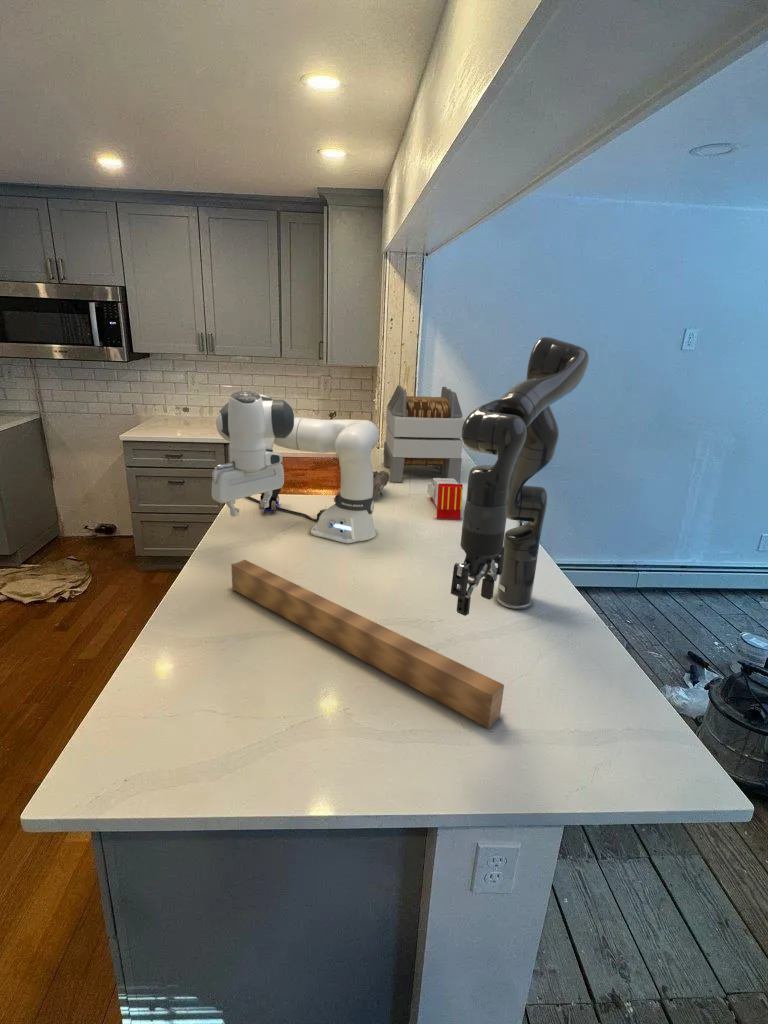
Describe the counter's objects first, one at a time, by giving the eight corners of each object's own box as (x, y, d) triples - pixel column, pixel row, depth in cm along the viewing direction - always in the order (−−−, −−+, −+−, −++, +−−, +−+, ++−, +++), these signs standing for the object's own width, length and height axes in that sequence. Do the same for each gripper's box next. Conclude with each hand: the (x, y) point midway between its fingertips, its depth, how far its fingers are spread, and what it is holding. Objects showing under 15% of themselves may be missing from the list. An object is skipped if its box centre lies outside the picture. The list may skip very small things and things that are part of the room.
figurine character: (276, 519, 211) (282, 502, 225) (275, 501, 208) (281, 484, 221) (258, 519, 211) (265, 501, 225) (257, 500, 208) (264, 484, 221)
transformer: (382, 463, 289) (386, 382, 275) (445, 464, 293) (451, 384, 279) (390, 482, 257) (394, 392, 243) (460, 483, 261) (468, 394, 247)
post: (232, 589, 156) (231, 564, 154) (245, 583, 159) (244, 559, 157) (488, 728, 108) (492, 695, 106) (499, 716, 112) (504, 684, 109)
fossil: (358, 476, 249) (385, 458, 244) (371, 493, 252) (398, 475, 247) (350, 497, 229) (380, 477, 224) (365, 515, 232) (394, 496, 227)
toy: (455, 474, 240) (467, 485, 211) (453, 505, 243) (464, 520, 214) (426, 473, 240) (434, 484, 211) (425, 504, 243) (432, 519, 213)
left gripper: (220, 468, 131) (223, 524, 136) (287, 454, 146) (288, 505, 151) (204, 463, 135) (207, 517, 140) (271, 450, 150) (272, 499, 155)
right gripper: (481, 541, 93) (472, 627, 99) (521, 520, 103) (511, 599, 109) (443, 529, 98) (436, 612, 103) (485, 510, 108) (477, 586, 113)
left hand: (250, 511), depth 146 cm, fingers open, 8 cm apart
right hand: (474, 605), depth 106 cm, fingers open, 8 cm apart
